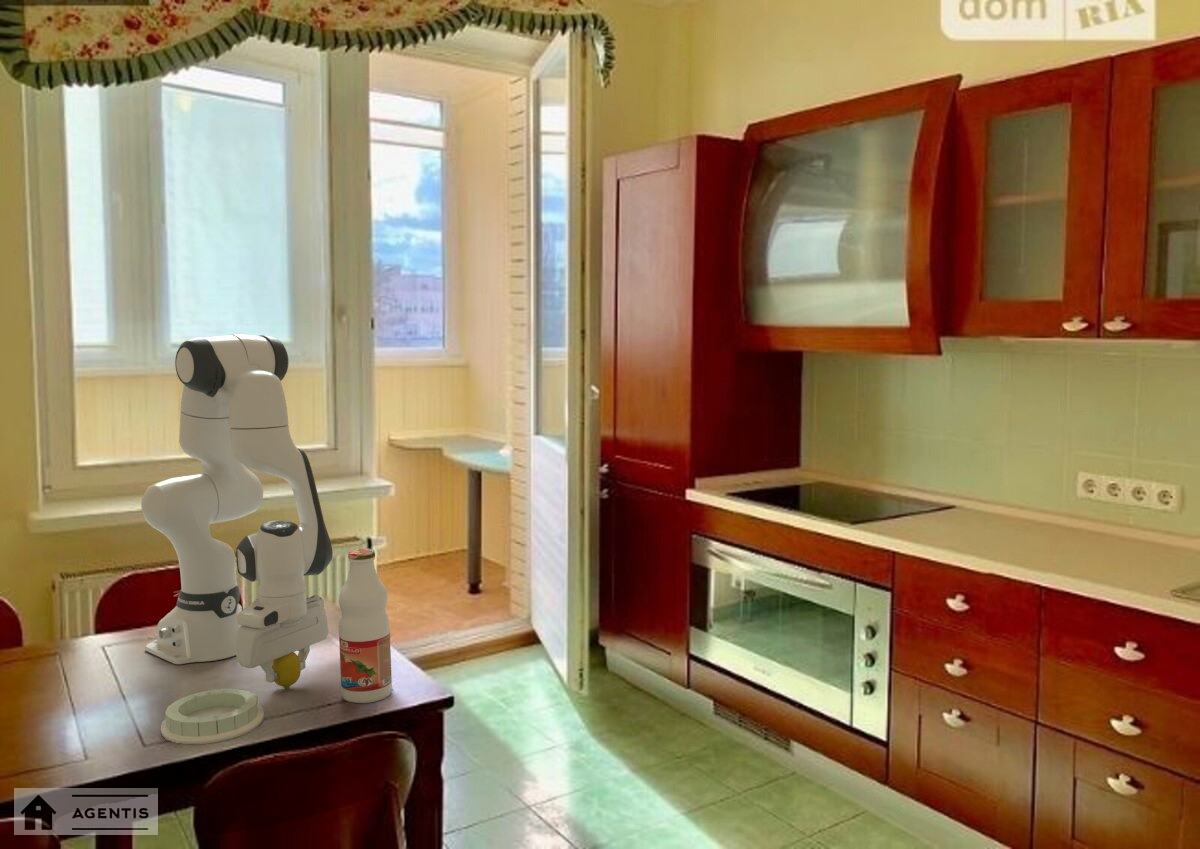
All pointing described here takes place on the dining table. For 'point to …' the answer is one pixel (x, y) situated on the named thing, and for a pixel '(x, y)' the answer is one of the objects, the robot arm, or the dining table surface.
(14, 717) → the dining table surface
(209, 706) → the ceramic dish
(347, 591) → the fruit juice
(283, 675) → the lemon
